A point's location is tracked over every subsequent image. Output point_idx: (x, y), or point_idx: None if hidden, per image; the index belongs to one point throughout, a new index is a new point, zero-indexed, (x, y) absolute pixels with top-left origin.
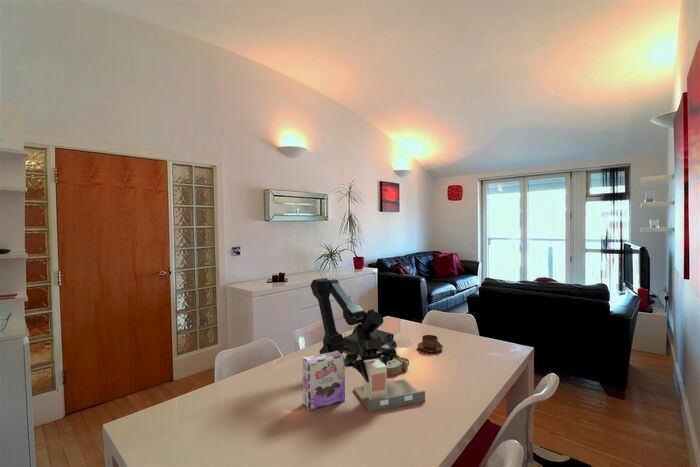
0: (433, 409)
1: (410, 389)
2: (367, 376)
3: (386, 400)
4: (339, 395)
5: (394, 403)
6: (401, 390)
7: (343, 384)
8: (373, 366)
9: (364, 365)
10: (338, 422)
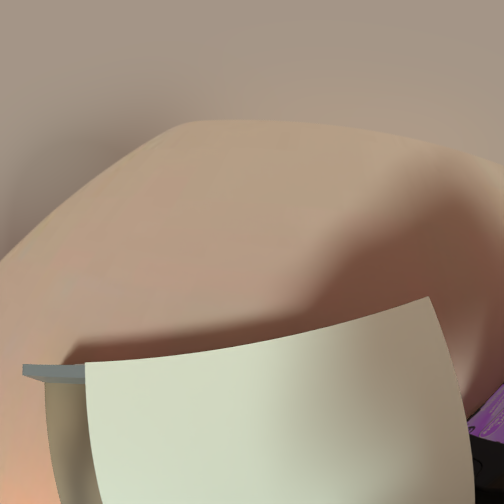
0: (57, 310)
1: (68, 469)
2: None
3: None
4: (479, 424)
5: None
6: None
7: (498, 440)
8: (364, 405)
9: (480, 486)
10: (448, 271)
